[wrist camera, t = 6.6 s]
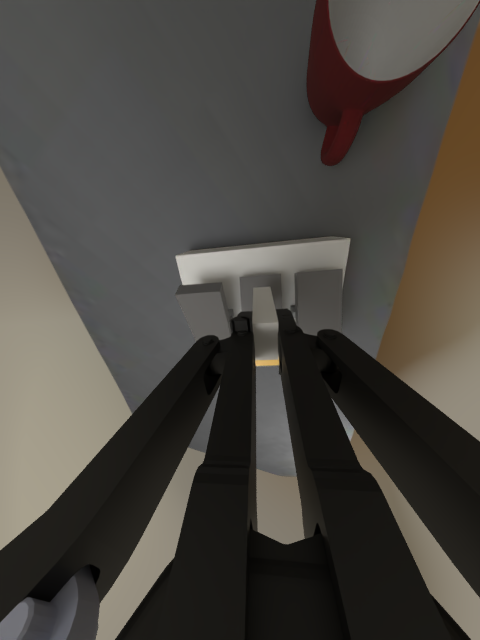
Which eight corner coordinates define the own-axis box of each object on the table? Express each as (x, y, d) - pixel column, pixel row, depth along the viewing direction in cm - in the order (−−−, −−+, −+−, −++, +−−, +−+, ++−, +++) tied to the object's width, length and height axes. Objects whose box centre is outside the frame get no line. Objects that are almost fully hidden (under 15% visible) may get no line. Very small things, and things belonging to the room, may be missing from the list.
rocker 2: (240, 278, 21) (239, 276, 19) (279, 275, 21) (281, 273, 19) (246, 362, 22) (244, 367, 20) (283, 361, 22) (285, 366, 20)
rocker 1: (179, 285, 19) (174, 296, 17) (221, 282, 18) (219, 293, 17) (204, 345, 25) (201, 357, 24) (235, 344, 25) (234, 355, 24)
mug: (360, 175, 20) (441, 135, 11) (286, 179, 21) (309, 146, 12) (393, 19, 15) (579, -261, 7) (295, 31, 16) (345, -206, 7)
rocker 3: (294, 273, 20) (297, 272, 18) (336, 270, 20) (344, 268, 18) (296, 359, 22) (300, 366, 20) (335, 358, 21) (342, 365, 19)
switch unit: (189, 250, 25) (168, 258, 19) (332, 236, 23) (360, 239, 17) (208, 341, 32) (197, 369, 26) (320, 337, 30) (336, 365, 24)
